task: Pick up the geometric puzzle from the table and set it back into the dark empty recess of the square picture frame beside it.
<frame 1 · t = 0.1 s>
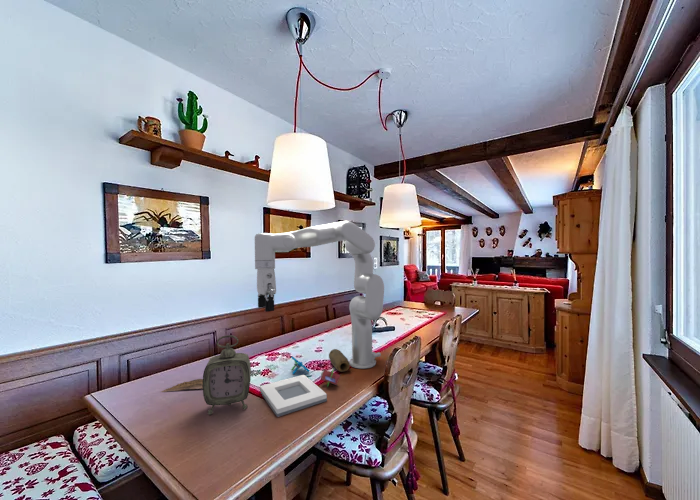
hand: (265, 309, 114), 31 cm above the table, tool pointing down, fingers open, 9 cm apart
wooden fragment: (198, 386, 119), on the table
stone weight: (338, 367, 135), on the table
geometric puzzle: (330, 385, 117), on the table
gear: (299, 372, 130), on the table
square picture frame: (292, 396, 108), on the table
tabletop clock: (228, 408, 101), on the table
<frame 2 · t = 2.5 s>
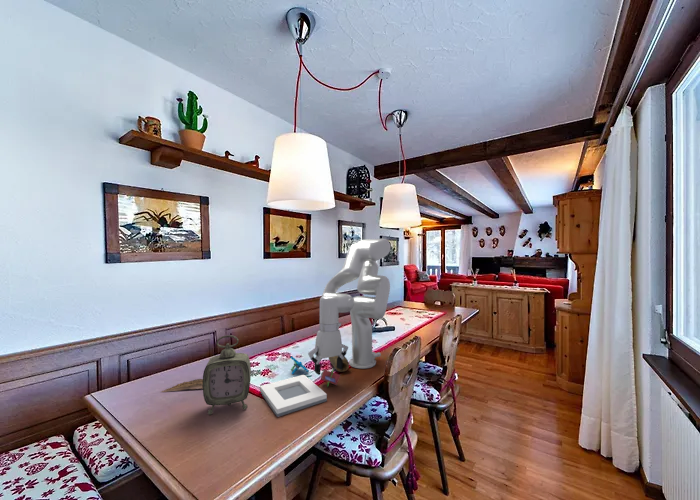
hand: (328, 371, 116), 6 cm above the table, tool pointing down, fingers open, 9 cm apart
nothing on the table moved.
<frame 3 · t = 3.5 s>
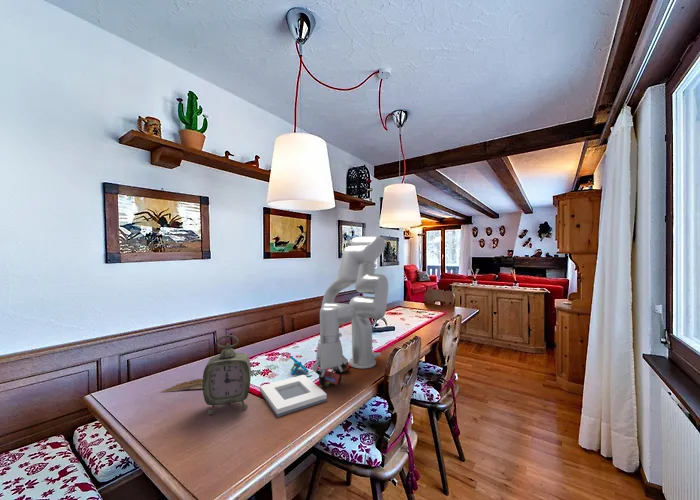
hand: (330, 383, 117), 1 cm above the table, tool pointing down, fingers closed on geometric puzzle, 6 cm apart
geometric puzzle: (330, 385, 117), on the table, touching gripper
everything else where it was.
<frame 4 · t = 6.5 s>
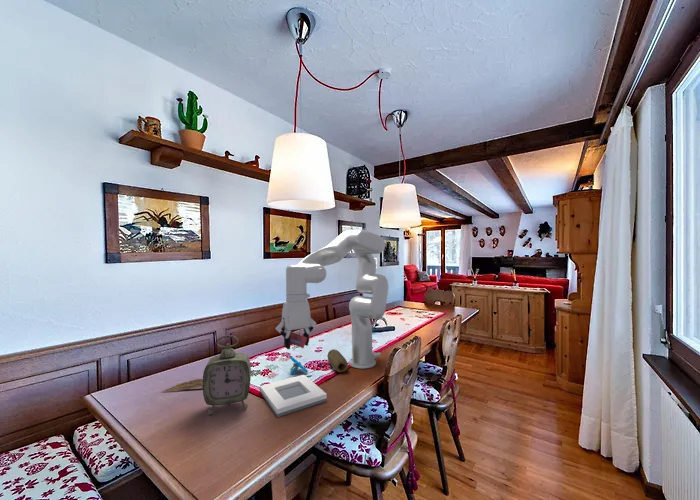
hand: (296, 346, 109), 18 cm above the table, tool pointing down, fingers closed on geometric puzzle, 6 cm apart
geometric puzzle: (297, 349, 109), point 17 cm above the table, touching gripper
everything else where it was.
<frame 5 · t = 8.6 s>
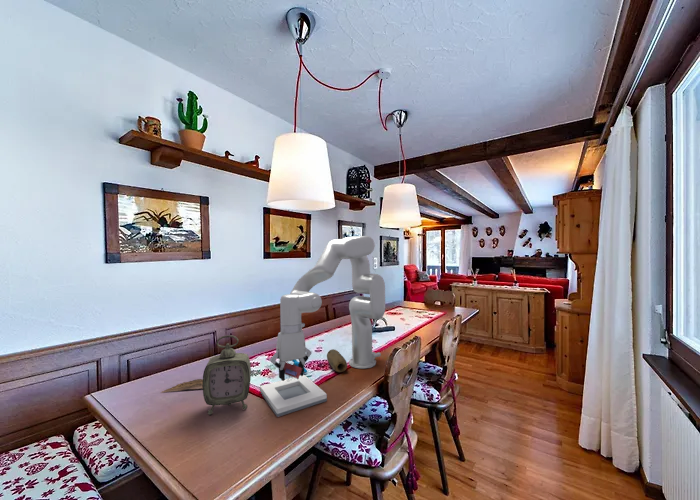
hand: (291, 376, 108), 7 cm above the table, tool pointing down, fingers closed on geometric puzzle, 6 cm apart
geometric puzzle: (291, 379, 108), point 6 cm above the table, touching gripper
when the fingers open (3 cm above the table, at t = 9.9 s): geometric puzzle drops 2 cm, resting on square picture frame.
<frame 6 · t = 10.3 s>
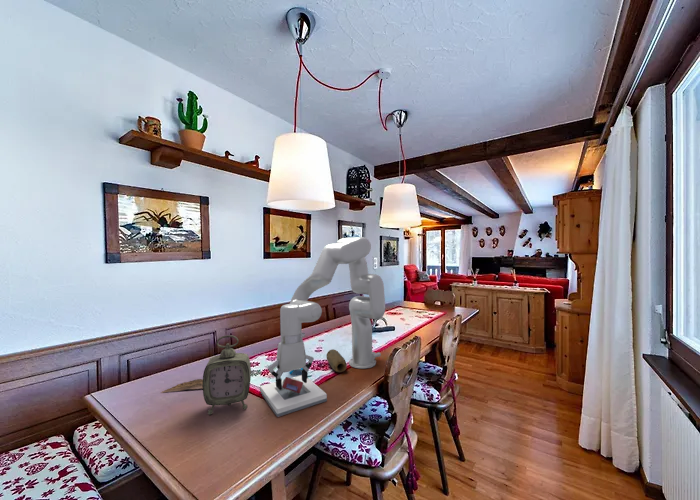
hand: (292, 384, 108), 4 cm above the table, tool pointing down, fingers open, 9 cm apart
geometric puzzle: (293, 394, 108), point 1 cm above the table, touching square picture frame
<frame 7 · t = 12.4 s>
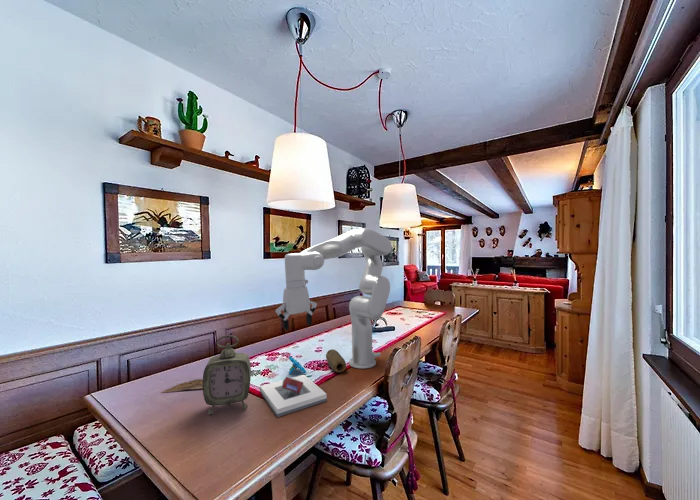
hand: (298, 327, 117), 23 cm above the table, tool pointing down, fingers open, 9 cm apart
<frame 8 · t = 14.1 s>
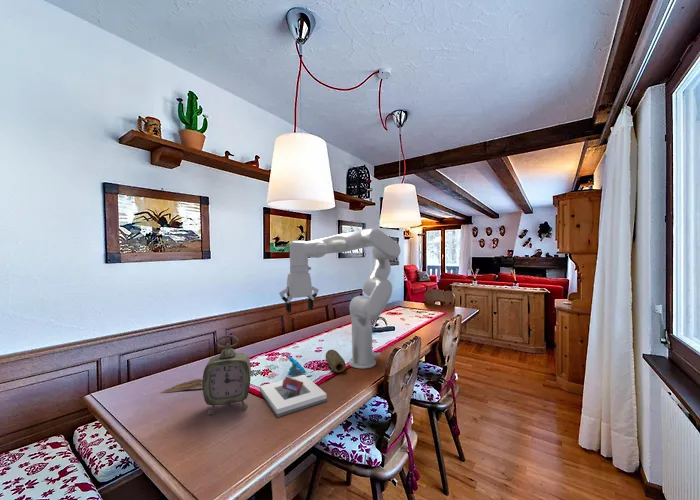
hand: (299, 310, 124), 28 cm above the table, tool pointing down, fingers open, 9 cm apart
at the end: geometric puzzle 0.2 cm off-centre on the square picture frame, point 0.8 cm above the square picture frame's base; geometric puzzle tilted 0°; the gripper is holding nothing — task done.
